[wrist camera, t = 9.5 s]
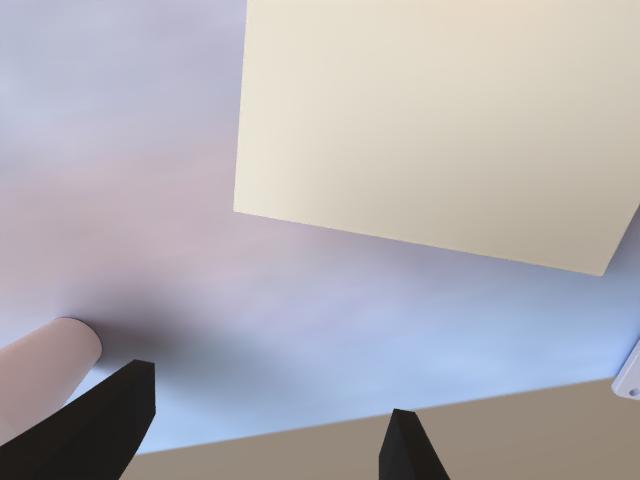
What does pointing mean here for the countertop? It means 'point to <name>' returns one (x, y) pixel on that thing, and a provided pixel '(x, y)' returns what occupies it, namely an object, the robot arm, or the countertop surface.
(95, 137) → the countertop surface
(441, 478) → the robot arm
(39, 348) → the smoothie
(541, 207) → the drywall panel
